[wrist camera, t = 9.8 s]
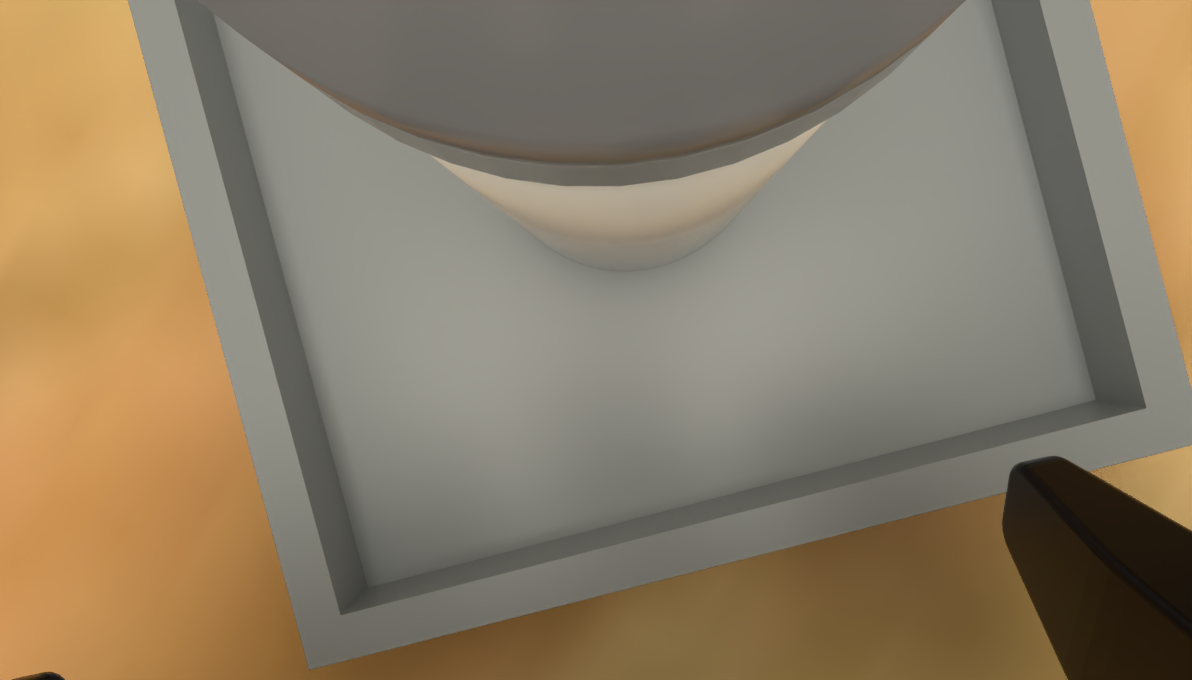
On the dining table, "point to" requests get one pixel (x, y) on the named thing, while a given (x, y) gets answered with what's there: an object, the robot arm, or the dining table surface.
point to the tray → (664, 331)
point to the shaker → (597, 98)
